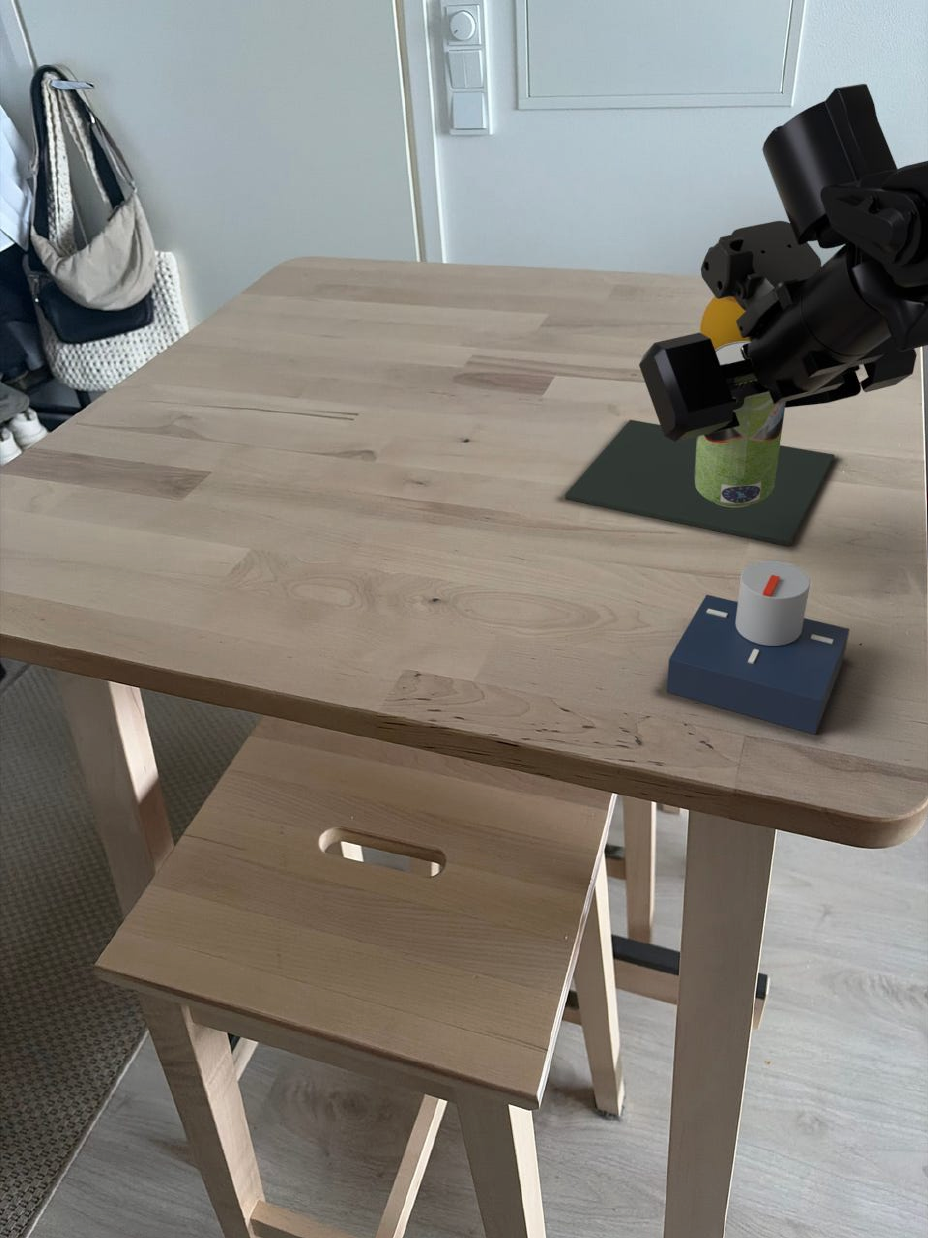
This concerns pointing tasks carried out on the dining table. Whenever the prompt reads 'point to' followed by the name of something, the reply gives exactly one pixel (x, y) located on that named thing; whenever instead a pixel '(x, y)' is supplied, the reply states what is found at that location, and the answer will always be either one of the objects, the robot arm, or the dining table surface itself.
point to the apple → (722, 321)
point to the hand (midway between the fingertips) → (722, 412)
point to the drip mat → (664, 487)
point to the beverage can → (741, 449)
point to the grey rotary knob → (772, 602)
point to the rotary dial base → (757, 668)
